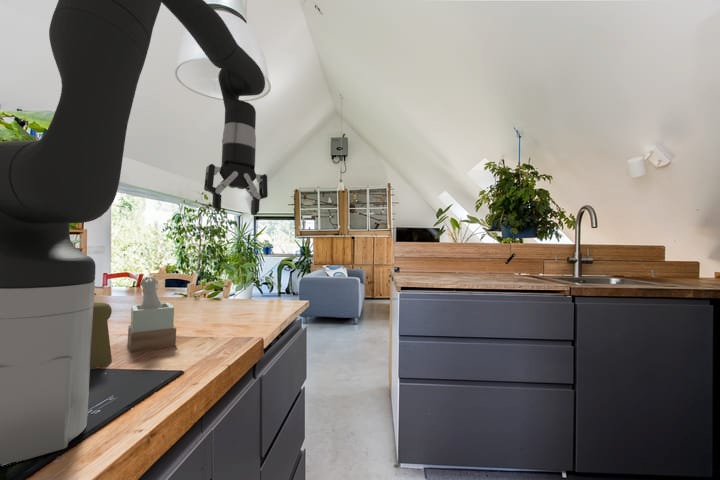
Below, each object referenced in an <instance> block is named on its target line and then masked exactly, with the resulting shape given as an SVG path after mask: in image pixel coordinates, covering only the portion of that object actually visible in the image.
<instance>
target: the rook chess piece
mask: <svg viewBox="0 0 720 480" xmlns="http://www.w3.org/2000/svg"><path fill="white" fill-rule="evenodd" d="M140 281H141V282H140V283H139V286H141V288H142V290H141V292H142V294H143V297H142V303H141V305H142V306H141V307H140V310H142V309H154V308H162V307H163V305H162V303H163V302H161V301H160V300H159V297H158V293H157V291H158V288H157V284H158V283H159V281H158V280H156V277H154V276H153V277H150V276H149V277H143V278H142V279H141V280H140Z"/></svg>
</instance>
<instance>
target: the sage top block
mask: <svg viewBox="0 0 720 480" xmlns="http://www.w3.org/2000/svg"><path fill="white" fill-rule="evenodd" d="M161 303H162V305H163V307H162V308H154V309H142V310H140V307H141V306H142V304H133V305H131V309H130V311H131V312H130V313H131V314H130V315H131V316H130V325H131V329H132V333H137V332H145V331H153V330H162V329H170V328H173V325H174V320H175V319H174V318H175V307H174V306H173V305H172V304H171V302H161Z"/></svg>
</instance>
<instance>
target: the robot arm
mask: <svg viewBox="0 0 720 480" xmlns="http://www.w3.org/2000/svg"><path fill="white" fill-rule="evenodd" d="M162 4H163V5H164V7H166V9H168V11H170V13H171V14H173V16H174V17H176V19H177V20H178V21H179V23H181V24H182V26H183V27H184V28H185V29H186V31H187V32H188V33H189V35H191V37H192V38H193V39H194V41H195V42H196V43H197V45H198V46H199V48H200V49H201V50H202V51H203V53H204V54H205V56H206V57H207V58H208V60H209V61H210V63H212V65H214V66H215V67H217V68H218V69H219V71H218V77H217V78H218V83H219V87H220V91H221V95H222V101H223V106H224V124H223V125H224V126H223V132H222V139H221V144H222V147H221V149H222V150H221V165H220V167H219V166H215V164H213V163H211V164H209V165H207V166H206V169H205V178H204V185H203V189H204V191H206V192H208V193H210V194H211V195H212V209H214V211H215V212H221V211H222V194H221V193H222V192H223V191H224V190H225V189H226V188H231V189H234V188H236V189H238V190H245V191H246V192H247V193H248V195H250V197H251V201H250V215H251V216H252V215H253V216H256V215H258V213H259V212H260V202H261V199H262V200H263V199H266V198H268V196H269V195H268V193H269V192H268V175H267V174H265V173H264V174H258V173H256V171H255V167H256V151H257V150H256V147H257V146H256V144H257V139H256V138H257V136H256V125H257V124H256V120H257V117H256V115H257V114H256V113H257V112H256V109H255V107H254V105H253V104H251V103H250V102H248V101H245V100H240V97H244V96H245V97H249V96H250V97H251V96H252V97H253V96H258V95H259V96H260V94H262V93H263V92H264V90H265V88H266V79H265V75H264V72H263V70H262V69H261V67H260V66H259V65H258V63H257V62H256V61H255V60H254V59H253V58H252V57H251V56H250V55H249V54H248V53H247V52H246V51H245V50H244V49H243V48H242V47H241V46H240V45H239V44H238V43H237V41H236V39H235V38H234V35H233V34H232V33H231V31H230V28H228V26H227V24H226V22H225V21H224V19H223V18H222V17H221V16H220V15H219V13H218V12H217V11H216V10H215V9H214V8H213V7H212V6H211V5H210V4H208V3H207V2H206V1H204V0H58V2H57V3H56V6H55V8H54V11H53V14H52V17H51V21H50V24H49V30H48V31H49V32H48V36H49V44H50V47H51V52H52V56H53V59H54V61H55V64H56V67H57V70H58V72H59V76H60V82H61V91H60V96H59V97H60V98H59V101H58V104H57V106H56V109H55V111H54V114H53V117H52V119H51V121H50V124H49V126H48V128H47V129H46V131H45V133H44V135H43V136H42V137H41V138H40V139H33V140H31V139H28V140H9V141H1V142H0V464H1V465H2V464H6V463H9V462H16V463H19V461H20V462H22V460H23V461H26V460H29V459H33V458H36V457H40V456H43V455H47V454H49V453H54V452H58V451H61V450H64V449H66V448H68V445H69V443H70V442H71V441H72V440H73V439H75V438H76V437H78V436H79V435H80V434H81V433H83V431H84V430H85V429H86V427H87V426H88V424H87V423H88V408H89V396H90V395H89V393H90V391H89V390H90V389H89V388H90V374H91V373H90V372H91V370H90V357H91V339H92V321H93V305H94V303H95V287H96V285H95V284H96V282H95V281H96V269H97V268H96V262H95V260H94V258H92V257H91V256H89V255H87V254H86V253H84V252H83V251H81V250H79V249H78V248H77V247H76V245H74V244H73V242H72V240H71V237H70V236H71V235H70V224H84V223H90V222H92V221H95V220H97V219H99V218H100V217H102V216H104V214H105V213H107V212H108V210H109V209H110V208H111V206H112V205H113V203H114V201H115V198H116V196H117V193H118V189H119V184H120V179H121V172H122V166H123V165H122V164H123V159H124V151H125V150H124V149H125V143H126V137H127V135H126V134H127V130H128V125H129V119H130V115H131V111H132V107H133V103H134V99H135V96H136V91H137V88H138V83H139V80H140V77H141V74H142V72H143V68H144V66H145V65H144V64H145V62H146V59H147V55H148V51H149V48H150V44H151V39H152V35H153V30H154V27H155V23H156V22H157V21H156V20H157V17H158V15H159V13H160V9H161V5H162ZM218 174H219V176H221V178H222V181H220V183H218V184H217V186H216V187H215V186H214V180H215V176H216V175H218ZM255 180H256V183H258V190H257V187H256V185H255V184H254V181H255Z"/></svg>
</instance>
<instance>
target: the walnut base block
mask: <svg viewBox="0 0 720 480" xmlns="http://www.w3.org/2000/svg"><path fill="white" fill-rule="evenodd" d="M127 328H128V330H127V347H128V349H129V353H135V352H142V351H148V350H156V349H162V348H168V347H175V346H176V342H177V327H176V326H175V325H174V324H173V328H170V329H162V330H153V331H145V332H137V333H132V329H131V324H130V325H128V327H127Z"/></svg>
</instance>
